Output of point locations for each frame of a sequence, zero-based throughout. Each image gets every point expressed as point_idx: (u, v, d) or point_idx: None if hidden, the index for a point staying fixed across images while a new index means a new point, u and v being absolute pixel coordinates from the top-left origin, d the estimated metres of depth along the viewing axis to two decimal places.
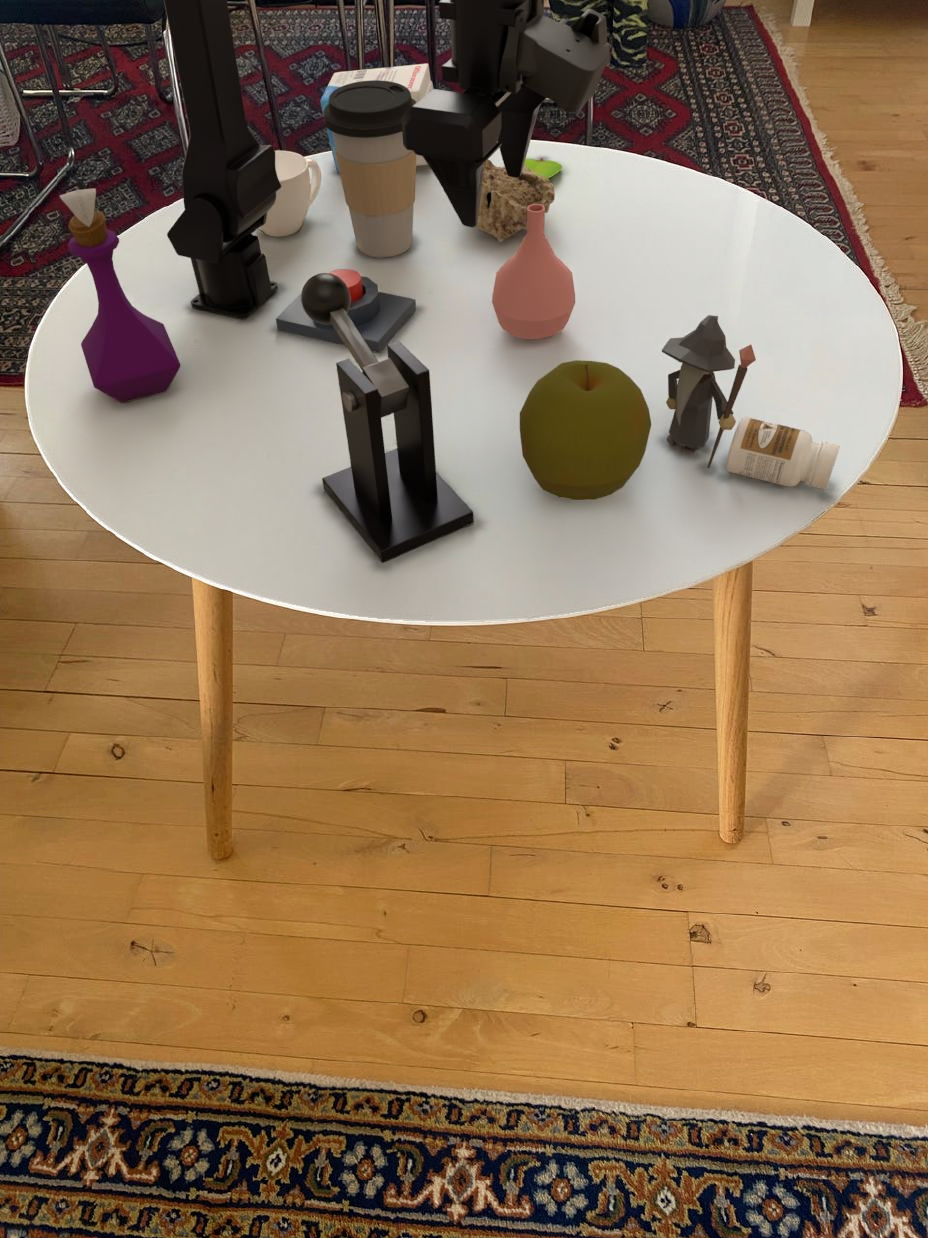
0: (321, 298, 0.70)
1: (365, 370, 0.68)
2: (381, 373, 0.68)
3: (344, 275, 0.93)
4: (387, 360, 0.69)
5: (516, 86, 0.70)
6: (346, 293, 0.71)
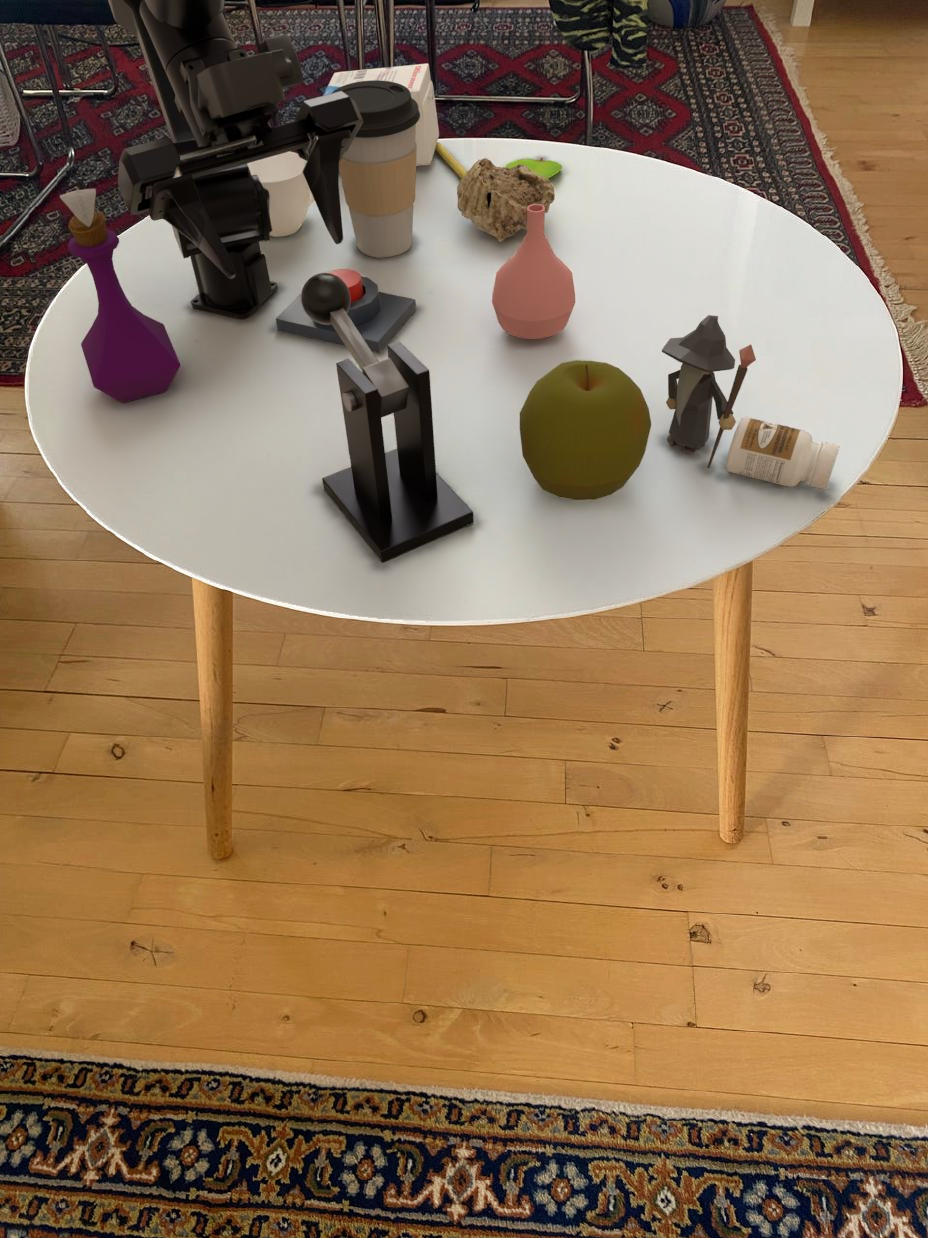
0: (321, 298, 0.70)
1: (365, 370, 0.68)
2: (381, 373, 0.68)
3: (344, 275, 0.93)
4: (387, 360, 0.69)
5: (204, 123, 0.72)
6: (346, 293, 0.71)
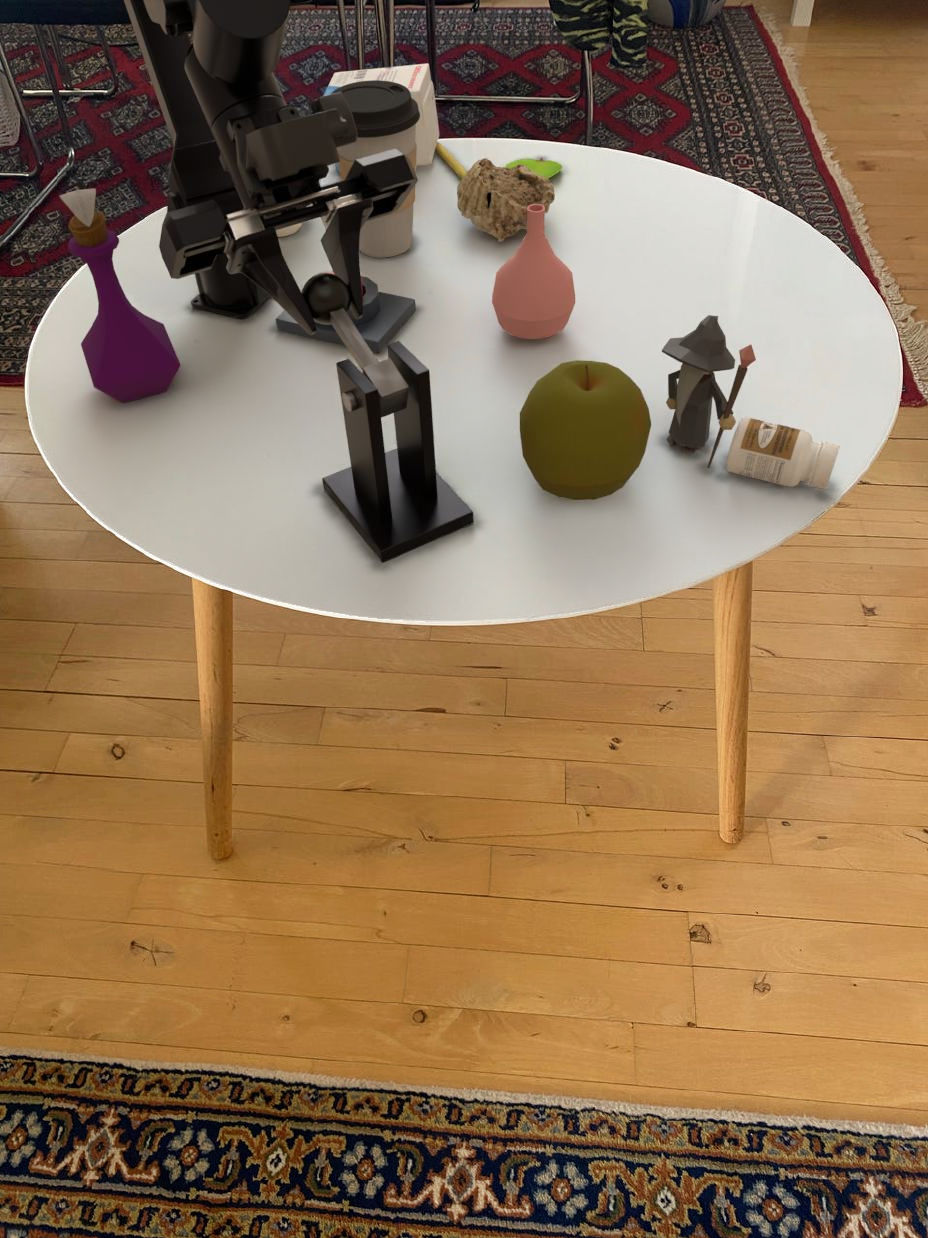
0: (321, 298, 0.70)
1: (365, 370, 0.68)
2: (381, 373, 0.68)
3: None
4: (387, 360, 0.69)
5: (252, 185, 0.67)
6: (346, 293, 0.71)
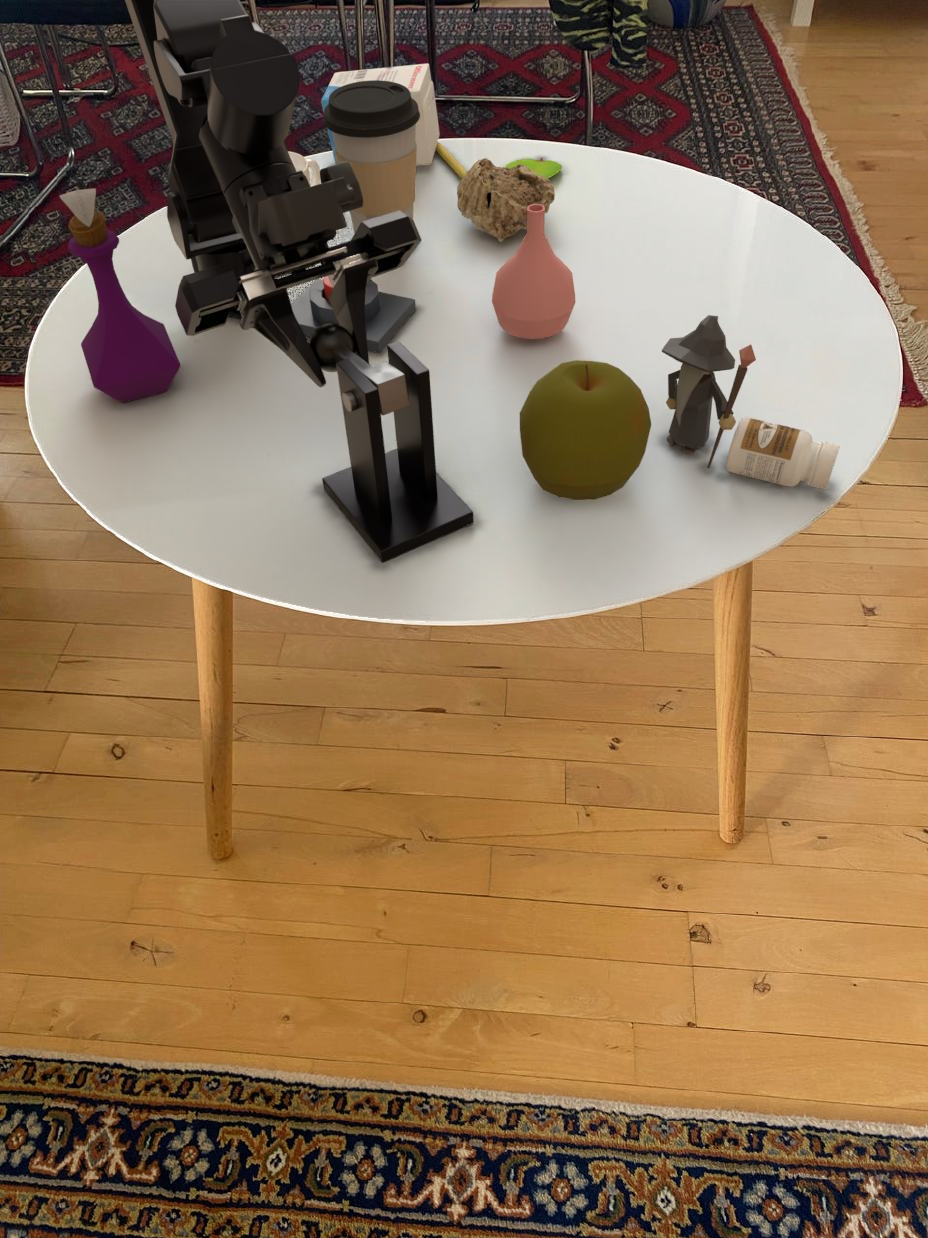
0: (323, 339, 0.74)
1: (362, 372, 0.69)
2: (377, 371, 0.69)
3: None
4: (384, 363, 0.70)
5: (263, 248, 0.71)
6: (347, 335, 0.75)
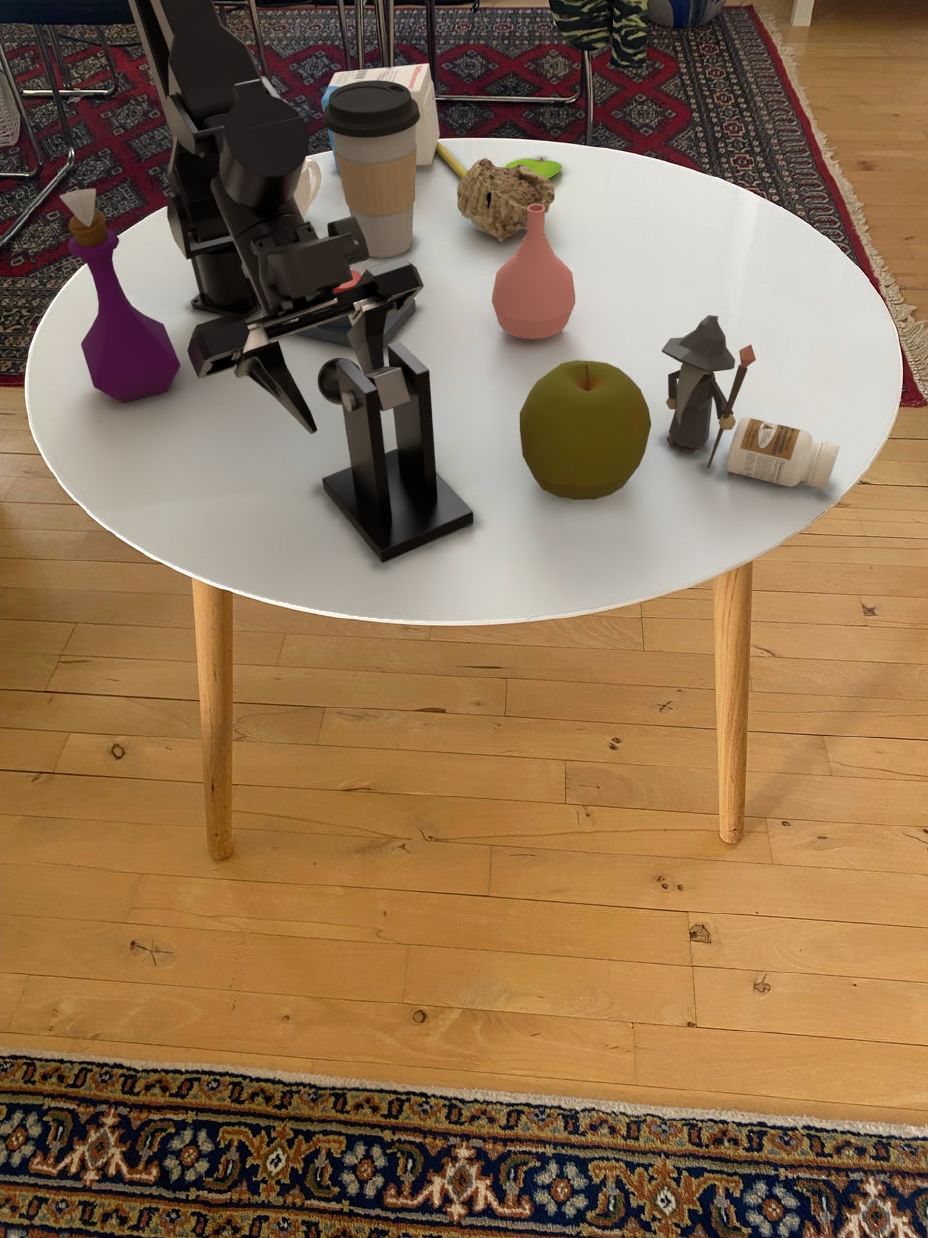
0: (329, 368, 0.75)
1: None
2: (376, 371, 0.69)
3: None
4: (383, 367, 0.70)
5: (273, 298, 0.74)
6: None
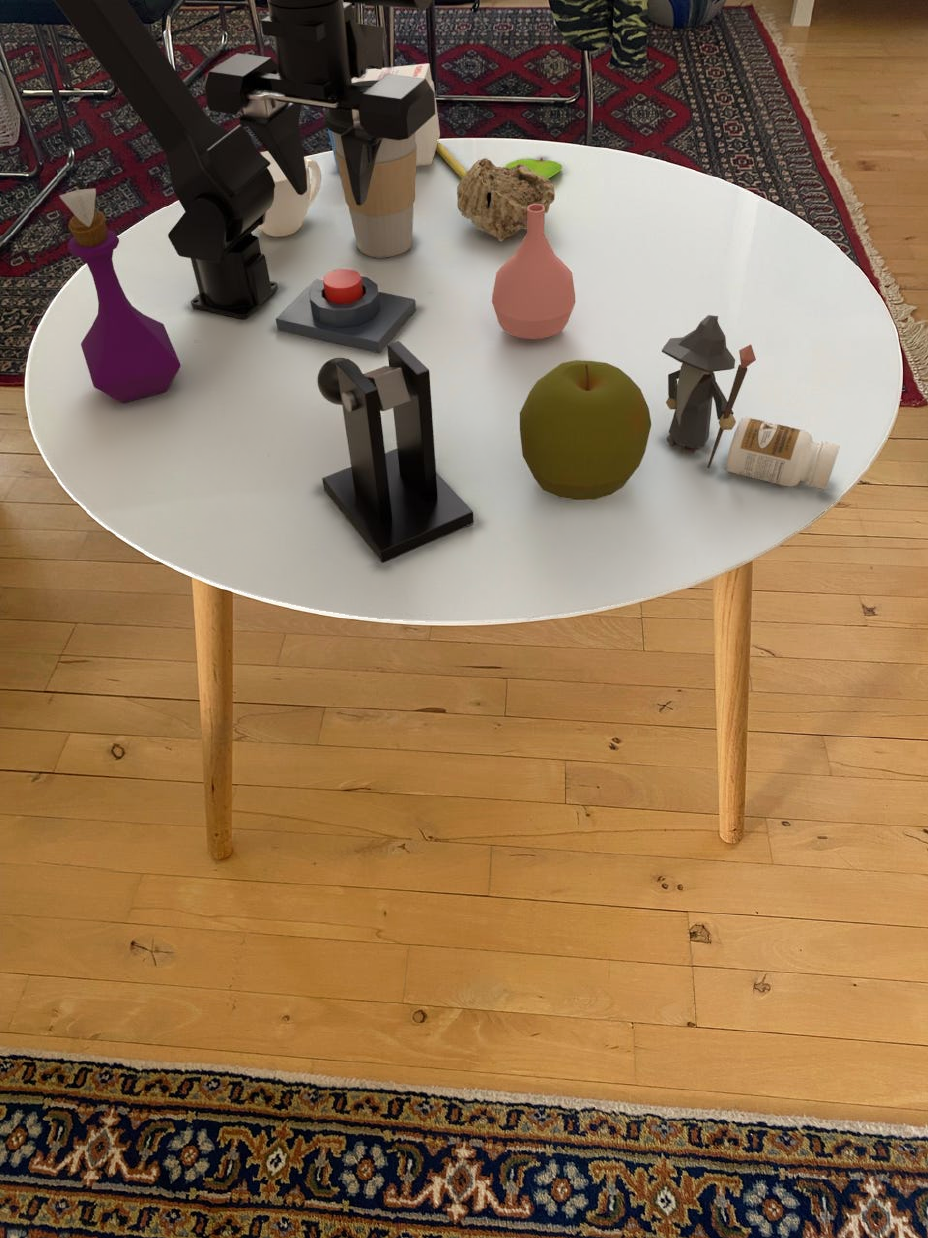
0: (329, 368, 0.75)
1: None
2: (376, 371, 0.69)
3: (344, 275, 0.93)
4: (383, 367, 0.70)
5: (364, 67, 0.80)
6: None
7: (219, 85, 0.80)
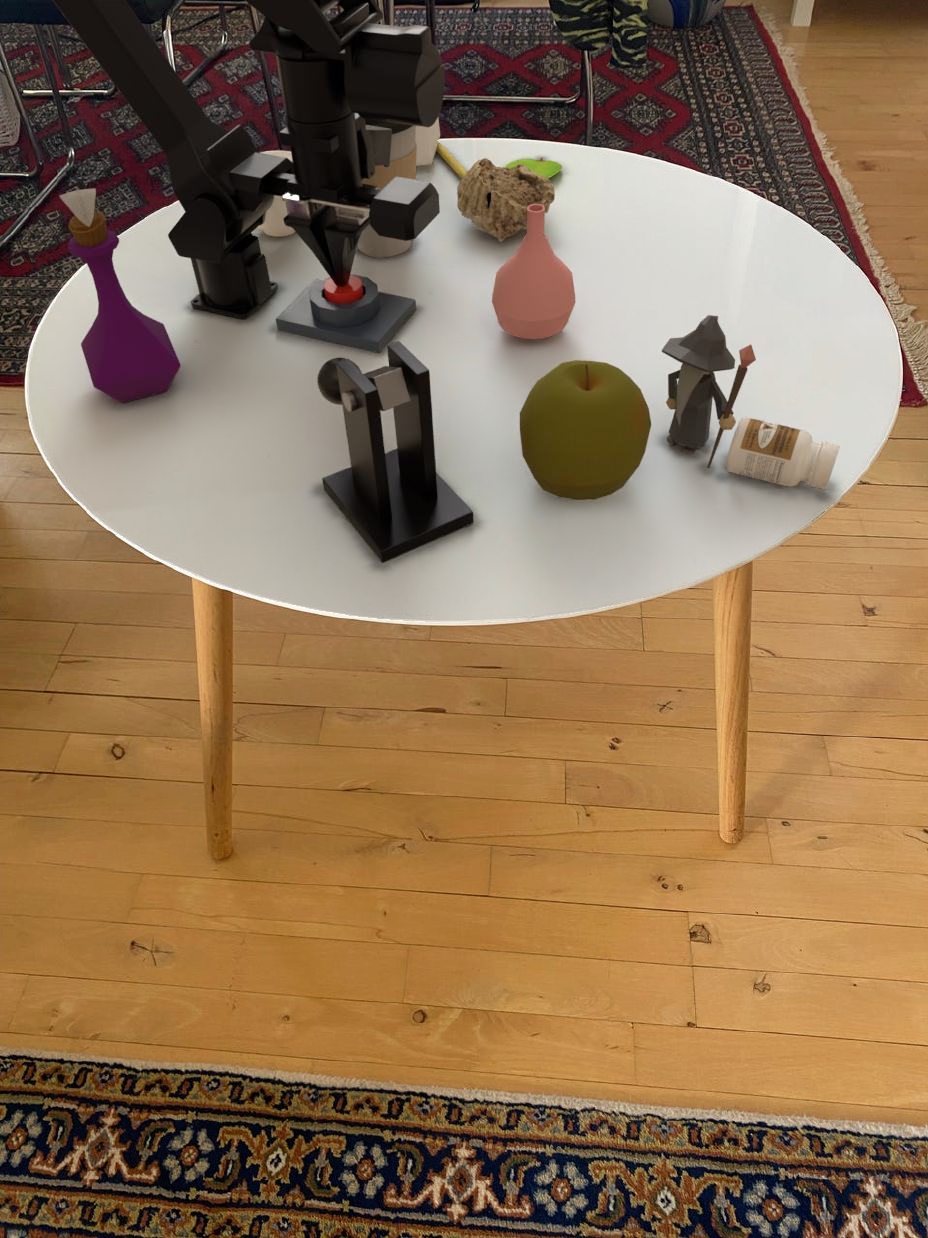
0: (329, 368, 0.75)
1: None
2: (376, 371, 0.69)
3: None
4: (383, 367, 0.70)
5: (373, 168, 0.87)
6: None
7: (239, 185, 0.86)
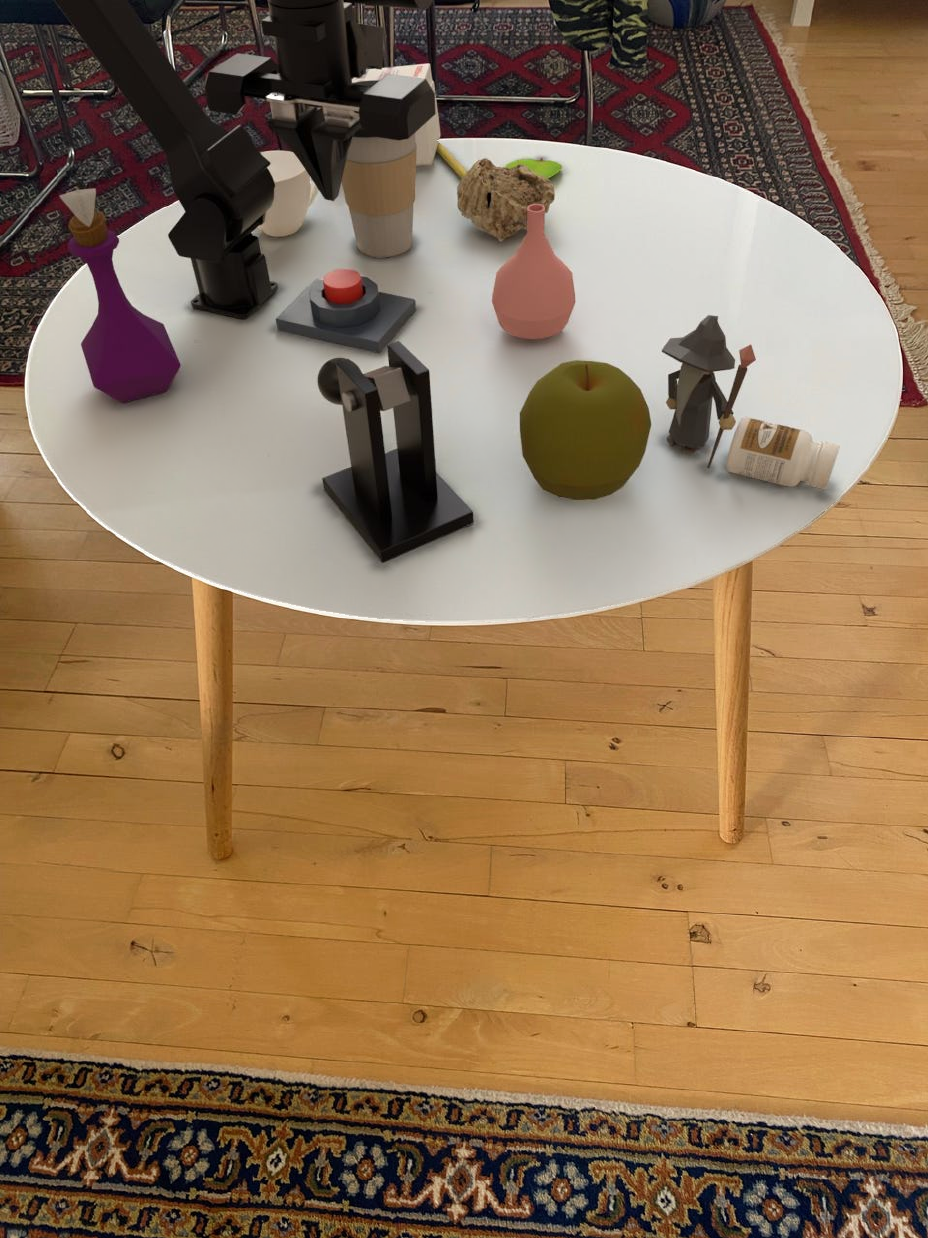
0: (329, 368, 0.75)
1: None
2: (376, 371, 0.69)
3: (344, 275, 0.93)
4: (383, 367, 0.70)
5: (364, 67, 0.81)
6: None
7: (219, 85, 0.80)
